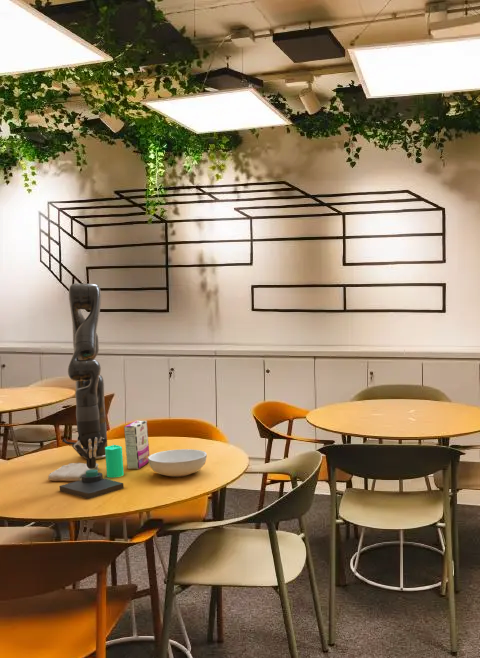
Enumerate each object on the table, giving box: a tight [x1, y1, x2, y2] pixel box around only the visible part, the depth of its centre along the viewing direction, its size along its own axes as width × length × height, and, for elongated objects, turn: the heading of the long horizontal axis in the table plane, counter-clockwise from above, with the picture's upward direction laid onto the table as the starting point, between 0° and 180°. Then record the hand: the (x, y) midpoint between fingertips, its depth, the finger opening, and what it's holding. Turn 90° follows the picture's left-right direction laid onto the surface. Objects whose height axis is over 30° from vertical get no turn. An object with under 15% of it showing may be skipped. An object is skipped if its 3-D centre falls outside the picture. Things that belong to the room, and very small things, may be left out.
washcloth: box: [47, 462, 100, 482], centre depth 245 cm, size 12×18×3 cm, turn 172°
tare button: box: [86, 469, 99, 477], centre depth 232 cm, size 4×4×2 cm
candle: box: [105, 444, 125, 479], centre depth 243 cm, size 6×6×12 cm
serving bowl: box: [148, 448, 207, 478], centre depth 243 cm, size 21×21×7 cm
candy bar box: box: [123, 420, 150, 470], centre depth 256 cm, size 11×5×16 cm, turn 168°
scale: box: [58, 472, 125, 500], centre depth 226 cm, size 16×14×4 cm
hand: (91, 468), depth 231 cm, fingers closed
